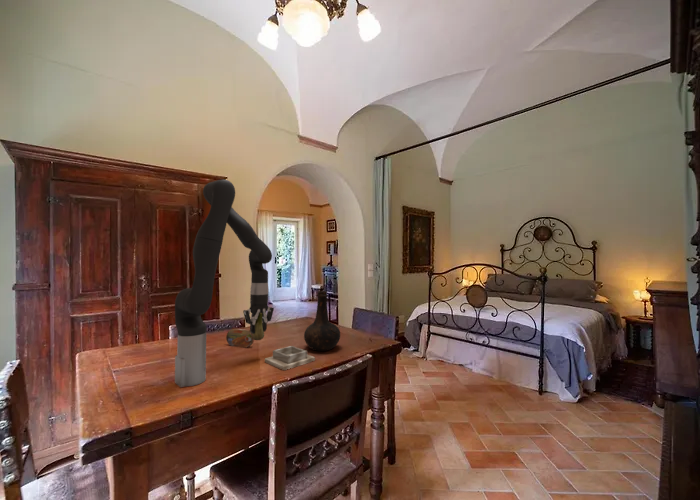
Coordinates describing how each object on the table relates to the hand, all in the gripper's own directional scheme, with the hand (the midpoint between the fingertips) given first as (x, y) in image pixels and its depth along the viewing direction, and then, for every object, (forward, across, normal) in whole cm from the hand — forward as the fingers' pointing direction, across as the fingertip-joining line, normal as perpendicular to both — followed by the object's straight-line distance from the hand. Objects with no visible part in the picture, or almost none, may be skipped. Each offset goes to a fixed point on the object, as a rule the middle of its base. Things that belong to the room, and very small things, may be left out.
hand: (258, 332), depth 134 cm
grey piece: (+12, +8, -12) cm, 19 cm away
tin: (+12, +4, +24) cm, 27 cm away
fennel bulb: (+3, 0, 0) cm, 3 cm away
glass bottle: (+12, +30, -8) cm, 34 cm away
